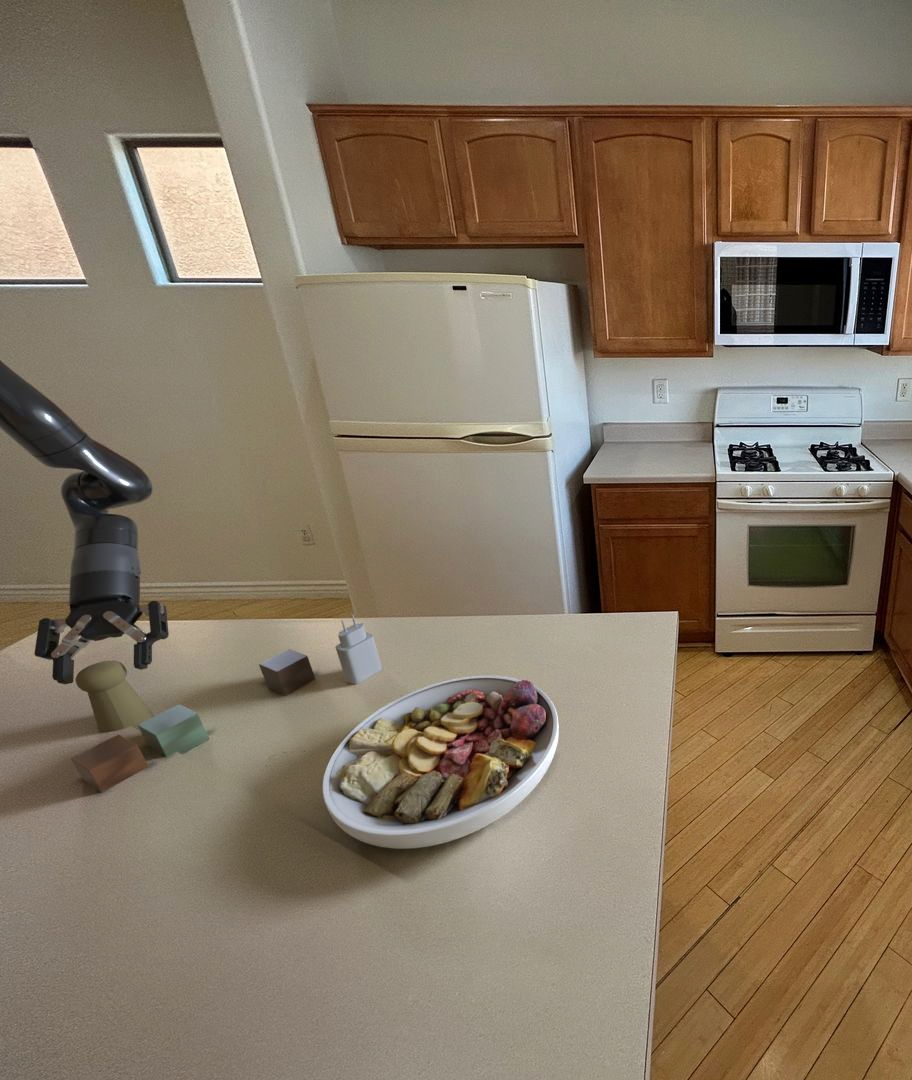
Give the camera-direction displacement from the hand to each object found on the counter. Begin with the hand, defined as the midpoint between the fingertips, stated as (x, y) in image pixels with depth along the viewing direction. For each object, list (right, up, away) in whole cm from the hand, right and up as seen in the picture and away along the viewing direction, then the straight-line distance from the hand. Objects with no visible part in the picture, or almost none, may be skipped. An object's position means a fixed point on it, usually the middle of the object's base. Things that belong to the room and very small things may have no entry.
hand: (103, 675), depth 84 cm
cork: (0, -9, +3) cm, 9 cm away
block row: (+14, -9, +3) cm, 17 cm away
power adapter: (+30, -4, +16) cm, 34 cm away
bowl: (+56, -13, -4) cm, 57 cm away
